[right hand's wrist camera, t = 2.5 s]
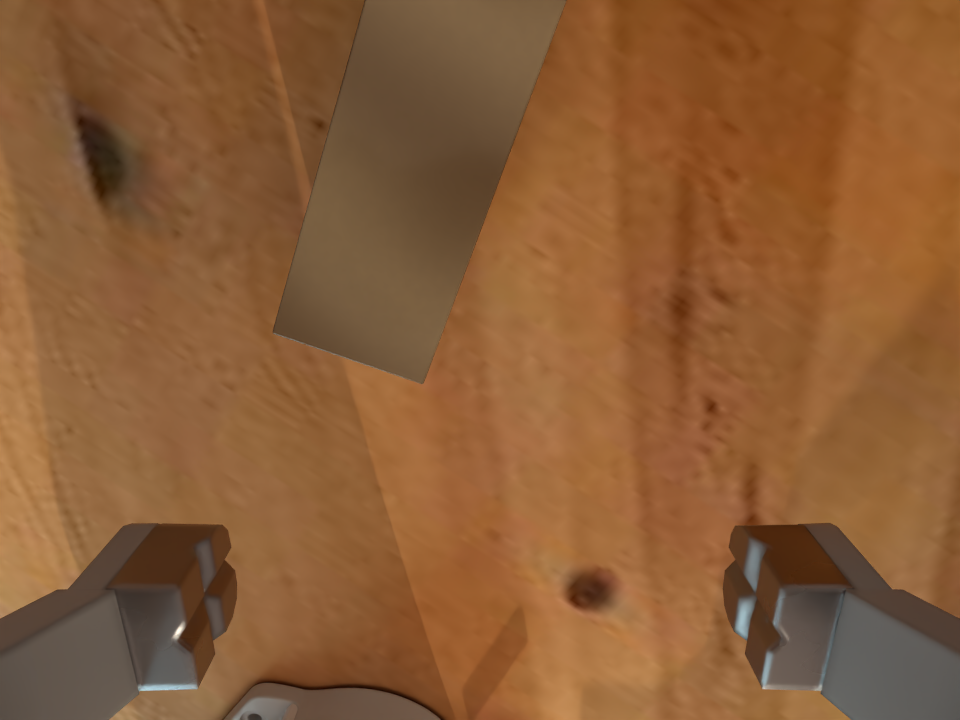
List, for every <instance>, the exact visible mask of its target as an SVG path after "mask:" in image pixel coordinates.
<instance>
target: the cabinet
mask: <svg viewBox="0 0 960 720" xmlns="http://www.w3.org/2000/svg"><path fill="white" fill-rule="evenodd" d="M566 1H567V0H365V2H364V6H363V9H362V13H361V16H360V20H359V24H358V27H357V31H356V34H355V38H354V41H353V45H352V49H351V52H350V56H349V59H348V63H347V67H346V70H345V74H344V77H343V81H342V85H341V88H340V92H339V95H338V99H337V102H336V106H335V110H334V113H333V117H332V120H331V124H330V128H329V131H328V135H327V138H326V142H325V145H324V149H323V153H322V156H321V160H320V163H319V167H318V171H317V174H316V178H315V181H314V185H313V189H312V192H311V196H310V199H309V203H308V206H307V210H306V214H305V217H304V221H303V224H302V228H301V232H300V235H299V239H298V242H297V246H296V250H295V253H294V257H293V260H292V264H291V267H290V271H289V275H288V278H287V282H286V285H285V289H284V293H283V296H282V300H281V303H280V307H279V310H278V314H277V318H276V321H275V325H274V328H273V334H276V335H279V336H282V337H285V338H288V339H291V340H294V341H297V342H300V343H302V344H305V345H308V346H311V347H314V348H317V349H320V350H323V351H326V352H329V353H332V354H335V355H338V356H341V357H344V358H346V359H349V360H352V361H355V362H358V363H361V364H364V365H367V366H370V367H373V368H376V369H379V370H382V371H385V372H388V373H390V374H393V375H396V376H399V377H402V378H405V379H408V380H411V381H414V382H417V383H420V384H423V383H424V381H425V378H426V376H427V373H428V370H429V368H430V365H431V362H432V360H433V357H434V354H435V352H436V349H437V346H438V344H439V341H440V338H441V336H442V333H443V330H444V328H445V325H446V322H447V319H448V317H449V314H450V311H451V309H452V306H453V303H454V301H455V298H456V295H457V293H458V290H459V287H460V285H461V282H462V279H463V277H464V274H465V271H466V269H467V266H468V263H469V261H470V258H471V255H472V253H473V250H474V247H475V245H476V242H477V239H478V236H479V234H480V231H481V228H482V226H483V223H484V220H485V218H486V215H487V212H488V210H489V207H490V204H491V202H492V199H493V196H494V194H495V191H496V188H497V186H498V183H499V180H500V178H501V175H502V172H503V170H504V167H505V164H506V162H507V159H508V156H509V153H510V151H511V148H512V145H513V143H514V140H515V137H516V135H517V132H518V129H519V127H520V124H521V121H522V119H523V116H524V113H525V111H526V108H527V105H528V103H529V100H530V97H531V95H532V92H533V89H534V87H535V84H536V81H537V79H538V76H539V73H540V71H541V68H542V65H543V62H544V60H545V57H546V54H547V52H548V49H549V46H550V44H551V41H552V38H553V36H554V33H555V30H556V28H557V25H558V22H559V20H560V17H561V14H562V12H563V9H564V6H565V4H566Z"/></svg>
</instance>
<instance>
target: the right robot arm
mask: <svg viewBox="0 0 960 720" xmlns="http://www.w3.org/2000/svg"><path fill="white" fill-rule="evenodd" d="M230 549H231V543H230V538H229V533H228V530H227V529H226V528H225V527H224V526H223V525H208V524H158V523H131V524H128V525H125V526H123V527H122V528H121V529H120V530H119V531H118V532H117V534H116V535H115V536H114V537H113V538H112V539H111V541H110V542H109V543H108V544H107V545H106V546H105V547H104V549H103V550H102V551H101V552H100V553H99V554H98V555H97V557H96V558H95V559H94V560H93V561H92V562H91V563H90V565H89V566H88V567H87V568H86V569H85V570H84V571H83V573H82V574H81V575H80V576H79V577H78V578H77V579H76V581H75V582H74V583H73V584H72V585H71V586H70V588H69V589H68V590H56V591H54V592H52V593H50V594H48V595H46V596H44V597H42V598H40V599H38V600H36V601H34V602H32V603H30V604H28V605H26V606H24V607H22V608H20V609H18V610H16V611H14V612H13V613H11V614H9V615H7V616H5V617H3V618H1V619H0V720H109V719H110V718H111V717H113V716H114V715H115V714H116V713H117V712H118V711H120V710H121V709H122V708H123V707H124V706H125V705H127V704H128V703H129V702H130V701H131V700H133V699H134V698H135V697H136V696H137V695H138V694H139V691H144V690H178V689H198V687H199V685H200V683H201V681H202V679H203V677H204V675H205V673H206V671H207V669H208V667H209V665H210V663H211V661H212V659H213V657H214V655H215V650H214V644H213V640H215V639H216V638H217V637H219V636H220V635H222V634H223V633H224V632H226V630H227V628H228V626H229V624H230V622H231V620H232V617H233V613H234V609H235V604H236V600H237V580H236V574H235V570H234V569H233V568H232V567H231V566H230V565H229V564H228V563H227V562H226V561H225V558H226V556H227V554H228V552H229V551H230ZM729 549H730V551H731V552H732V554H733V556H734V558H735V561H734V562H733V563H732V564H731V565H730V566H729V567H728V568H727V569H726V570H725V574H724V582H723V596H724V606H725V610H726V613H727V617H728V620H729V622H730V624H731V626H732V628H733V630H734V632H736V633H737V634H738V635H740V636H741V637H743V638H744V639H745V640H747V644H746V650H745V655H746V657H747V659H748V661H749V663H750V665H751V667H752V669H753V671H754V673H755V675H756V677H757V679H758V681H759V683H760V685H761V687H762V689H781V690H816V691H821V694H822V695H823V696H824V697H825V698H827V699H828V700H829V701H830V702H831V703H832V704H834V705H835V706H836V707H837V708H838V709H840V710H841V711H842V712H843V713H844V714H845V715H847V716H848V717H849V718H850V719H851V720H960V619H959V618H957V617H955V616H953V615H951V614H949V613H947V612H945V611H943V610H941V609H940V608H938V607H936V606H934V605H932V604H930V603H928V602H926V601H924V600H922V599H920V598H918V597H916V596H914V595H912V594H910V593H908V592H906V591H904V590H892V589H891V588H890V586H889V585H888V584H887V583H886V582H885V581H884V580H883V578H882V577H881V576H880V575H879V574H878V573H877V571H876V570H875V569H874V568H873V567H872V566H871V565H870V563H869V562H868V561H867V560H866V559H865V558H864V557H863V555H862V554H861V553H860V552H859V551H858V550H857V549H856V547H855V546H854V545H853V544H852V543H851V542H850V541H849V539H848V538H847V537H846V536H845V535H844V534H843V533H842V531H841V530H840V529H839V528H838V527H837V526H835V525H833V524H831V523H814V524H798V525H744V526H735V527H734V529H733V531H732V533H731V537H730V543H729ZM223 720H441V719H440V718H439V717H437V716H436V715H435V714H433V713H432V712H431V711H429V710H428V709H426V708H424V707H423V706H421V705H419V704H417V703H415V702H413V701H411V700H408V699H406V698H403V697H401V696H398V695H395V694H391V693H387V692H383V691H378V690H373V689H364V688H334V689H323V690H305V689H300V688H296V687H292V686H287V685H282V684H276V683H260V684H257V685H255V686H253V687H252V688H251V689H250V690H249V691H248V692H247V693H246V695H245V696H244V697H243V698H242V699H241V700H240V701H239V702H238V704H237V705H236V706H235V707H234V708H233V709H232V710H231V711H230V713H229V714H228V715H227V716H226V717H225V718H224V719H223Z"/></svg>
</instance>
